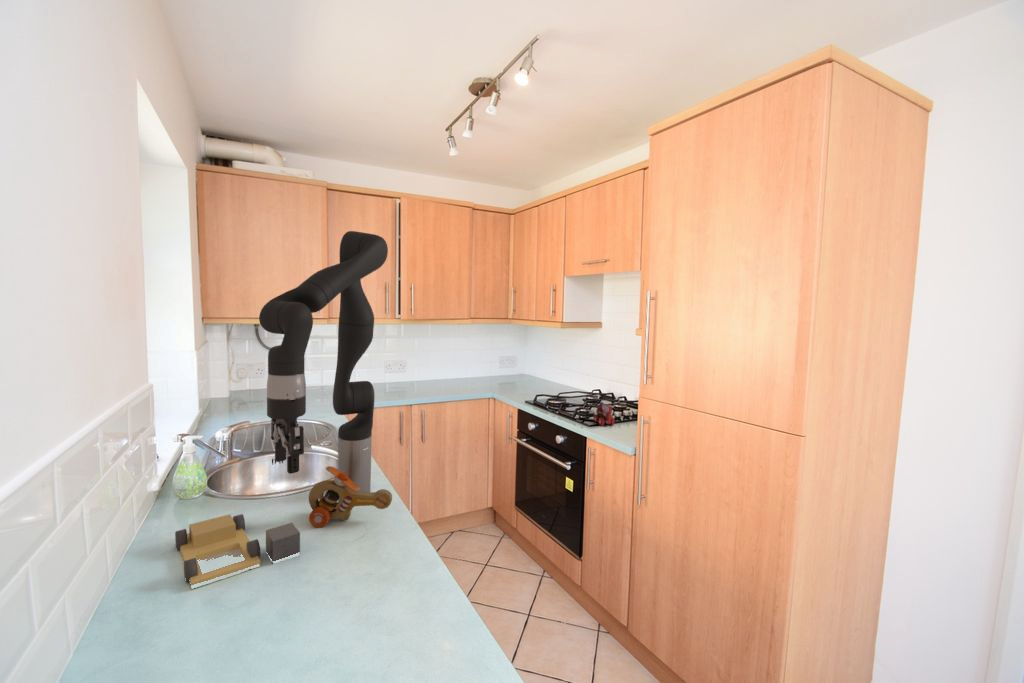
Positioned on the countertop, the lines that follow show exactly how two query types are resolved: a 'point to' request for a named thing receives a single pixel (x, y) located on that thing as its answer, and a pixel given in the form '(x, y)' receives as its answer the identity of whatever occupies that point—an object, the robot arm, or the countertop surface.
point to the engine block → (282, 541)
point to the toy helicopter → (341, 498)
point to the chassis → (216, 546)
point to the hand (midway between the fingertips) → (286, 466)
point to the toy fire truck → (604, 414)
